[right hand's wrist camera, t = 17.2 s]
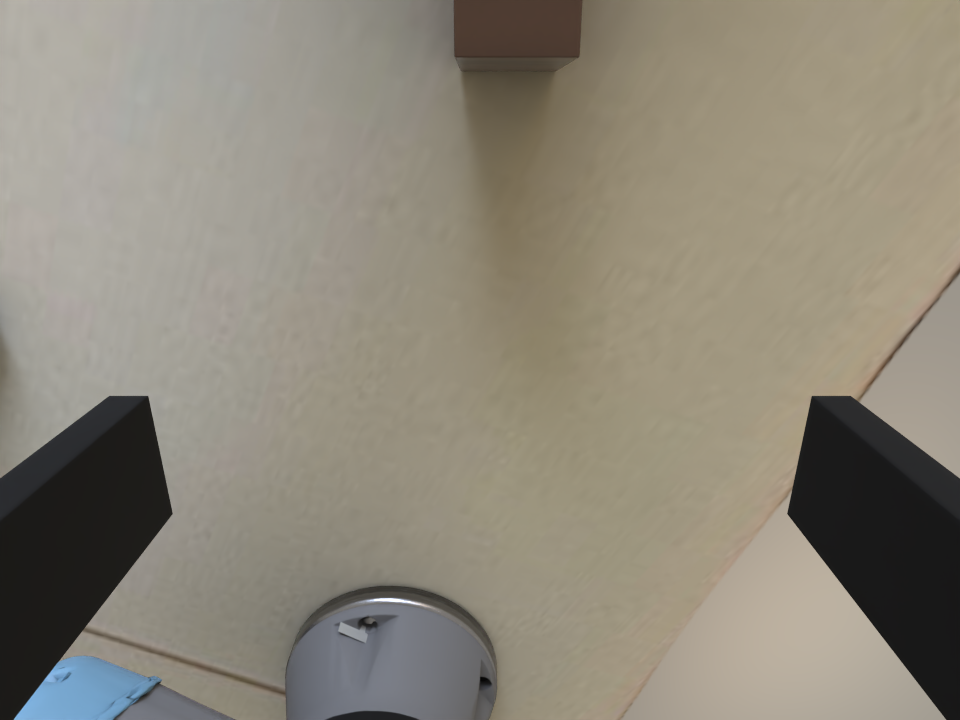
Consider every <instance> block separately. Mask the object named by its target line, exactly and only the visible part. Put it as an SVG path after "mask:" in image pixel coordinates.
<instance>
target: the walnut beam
mask: <svg viewBox="0 0 960 720" xmlns="http://www.w3.org/2000/svg"><path fill="white" fill-rule="evenodd" d="M581 16H582V0H454V54H455V58H456V61H457V63H458V65H459V68H460V70H461V71H557V70H558V69H560V68H562V67H563V66H565V65H567V64H568V63H570V62H572V61H573V60H575V59H577V58H578V57H579V55H580V35H581Z"/></svg>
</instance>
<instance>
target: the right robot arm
mask: <svg viewBox="0 0 960 720" xmlns="http://www.w3.org/2000/svg"><path fill="white" fill-rule="evenodd" d="M172 514H173V513H172V508H171V504H170V499H169V494H168V489H167V484H166V480H165V475H164V470H163V465H162V460H161V456H160V451H159V446H158V441H157V436H156V432H155V427H154V422H153V417H152V412H151V408H150V403H149V398H148V396H109V397H108V398H106V399H105V400H104V401H102V402H101V403H100V404H98V405H97V406H96V407H94V408H93V409H92V410H90V411H89V412H88V413H86V414H85V415H84V416H82V417H81V418H80V419H78V420H77V421H76V422H74V423H73V424H72V425H70V426H69V427H68V428H67V429H65V430H64V431H63V432H61V433H60V434H59V435H57V436H56V437H55V438H53V439H52V440H51V441H49V442H48V443H47V444H45V445H44V446H43V447H41V448H40V449H39V450H37V451H36V452H35V453H33V454H32V455H31V456H29V457H28V458H27V459H26V460H24V461H23V462H22V463H20V464H19V465H18V466H16V467H15V468H14V469H12V470H11V471H10V472H8V473H7V474H6V475H4V476H3V477H2V478H0V720H235V719H233V718H231V717H228V716H226V715H224V714H222V713H220V712H217V711H215V710H213V709H211V708H209V707H206V706H204V705H202V704H200V703H198V702H196V701H194V700H192V699H190V698H188V697H186V696H184V695H181V694H179V693H177V692H175V691H173V690H171V689H169V688H167V687H165V686H163V685H161V684H159V683H160V682H161V681H162V679H160V678H158V677H156V676H152V677H149V678H147V677H145V676H142V675H140V674H137V673H135V672H132V671H129V670H127V669H124V668H122V667H119V666H117V665H114V664H112V663H109V662H107V661H104V660H102V659H99V658H95V657H91V656H76V657H71V658H67V659H64V660H62V661H60V662H59V660H60V659H61V658H62V656H63V655H64V654H65V653H66V651H67V650H68V649H69V647H70V646H71V645H72V643H73V642H74V641H75V640H76V638H77V637H78V636H79V634H80V633H81V632H82V631H83V629H84V628H85V627H86V625H87V624H88V623H89V621H90V620H91V619H92V618H93V616H94V615H95V614H96V612H97V611H98V610H99V609H100V607H101V606H102V605H103V603H104V602H105V601H106V599H107V598H108V597H109V596H110V594H111V593H112V592H113V590H114V589H115V588H116V587H117V585H118V584H119V583H120V581H121V580H122V579H123V577H124V576H125V575H126V574H127V572H128V571H129V570H130V568H131V567H132V566H133V565H134V563H135V562H136V561H137V559H138V558H139V557H140V555H141V554H142V553H143V552H144V550H145V549H146V548H147V546H148V545H149V544H150V543H151V541H152V540H153V539H154V537H155V536H156V535H157V533H158V532H159V531H160V530H161V528H162V527H163V526H164V524H165V523H166V522H167V520H168V519H169V518H170V517H171V515H172ZM787 514H788V515H789V517H790V518H791V519H792V520H793V522H794V523H795V524H796V526H797V527H798V528H799V530H800V531H801V532H802V533H803V535H804V536H805V537H806V539H807V540H808V541H809V543H810V544H811V545H812V546H813V548H814V549H815V550H816V552H817V553H818V554H819V555H820V557H821V558H822V559H823V561H824V562H825V563H826V565H827V566H828V567H829V568H830V570H831V571H832V572H833V574H834V575H835V576H836V577H837V579H838V580H839V581H840V583H841V584H842V585H843V587H844V588H845V589H846V590H847V592H848V593H849V594H850V596H851V597H852V598H853V599H854V601H855V602H856V603H857V605H858V606H859V607H860V608H861V610H862V611H863V612H864V614H865V615H866V616H867V618H868V619H869V620H870V621H871V623H872V624H873V625H874V627H875V628H876V629H877V631H878V632H879V633H880V634H881V636H882V637H883V638H884V640H885V641H886V642H887V643H888V645H889V646H890V647H891V649H892V650H893V651H894V653H895V654H896V655H897V656H898V658H899V659H900V660H901V662H902V663H903V664H904V666H905V667H906V668H907V669H908V671H909V672H910V673H911V674H912V676H913V677H914V678H915V680H916V681H917V682H918V684H919V685H920V686H921V688H922V689H923V690H924V691H925V693H926V694H927V695H928V697H929V698H930V699H931V700H932V702H933V703H934V704H935V706H936V707H937V708H938V710H939V711H940V712H941V713H942V715H943V716H944V717H945V719H946V720H960V478H958V477H957V476H956V475H954V474H953V473H952V472H950V471H949V470H948V469H946V468H945V467H944V466H942V465H941V464H940V463H938V462H937V461H936V460H934V459H933V458H932V457H930V456H929V455H928V454H927V453H925V452H924V451H923V450H921V449H920V448H919V447H917V446H916V445H915V444H913V443H912V442H911V441H909V440H908V439H907V438H905V437H904V436H903V435H901V434H900V433H899V432H897V431H896V430H895V429H893V428H892V427H891V426H890V425H888V424H887V423H886V422H884V421H883V420H882V419H880V418H879V417H878V416H876V415H875V414H874V413H872V412H871V411H870V410H868V409H867V408H866V407H864V406H863V405H862V404H860V403H859V402H858V401H856V400H855V399H854V398H852V397H851V396H812V398H811V403H810V408H809V412H808V417H807V422H806V427H805V432H804V436H803V441H802V446H801V451H800V456H799V460H798V465H797V470H796V475H795V480H794V484H793V489H792V494H791V499H790V504H789V508H788V513H787ZM285 679H286V715H287V720H489V718H490V715H491V712H492V709H493V706H494V703H495V699H496V693H497V671H496V657H495V652H494V649H493V646H492V644H491V641H490V639H489V637H488V636H487V634H486V632H485V631H484V629H483V628H482V627H481V625H480V624H479V623H478V622H477V621H476V620H475V619H474V618H473V617H472V616H471V615H470V614H469V613H468V612H466V611H465V610H464V609H462V608H461V607H460V606H458V605H456V604H455V603H453V602H451V601H449V600H447V599H445V598H443V597H441V596H438V595H436V594H433V593H430V592H427V591H423V590H419V589H414V588H408V587H398V586H379V587H370V588H365V589H359V590H356V591H352V592H349V593H346V594H344V595H341V596H339V597H337V598H335V599H333V600H331V601H329V602H328V603H326V604H324V605H323V606H322V607H320V608H319V609H318V610H316V611H315V612H314V613H313V614H312V615H311V616H310V617H309V618H308V619H307V621H306V622H305V623H304V625H303V626H302V628H301V629H300V631H299V633H298V635H297V637H296V640H295V643H294V646H293V648H292V651H291V654H290V657H289V660H288V663H287V668H286V677H285Z"/></svg>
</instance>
